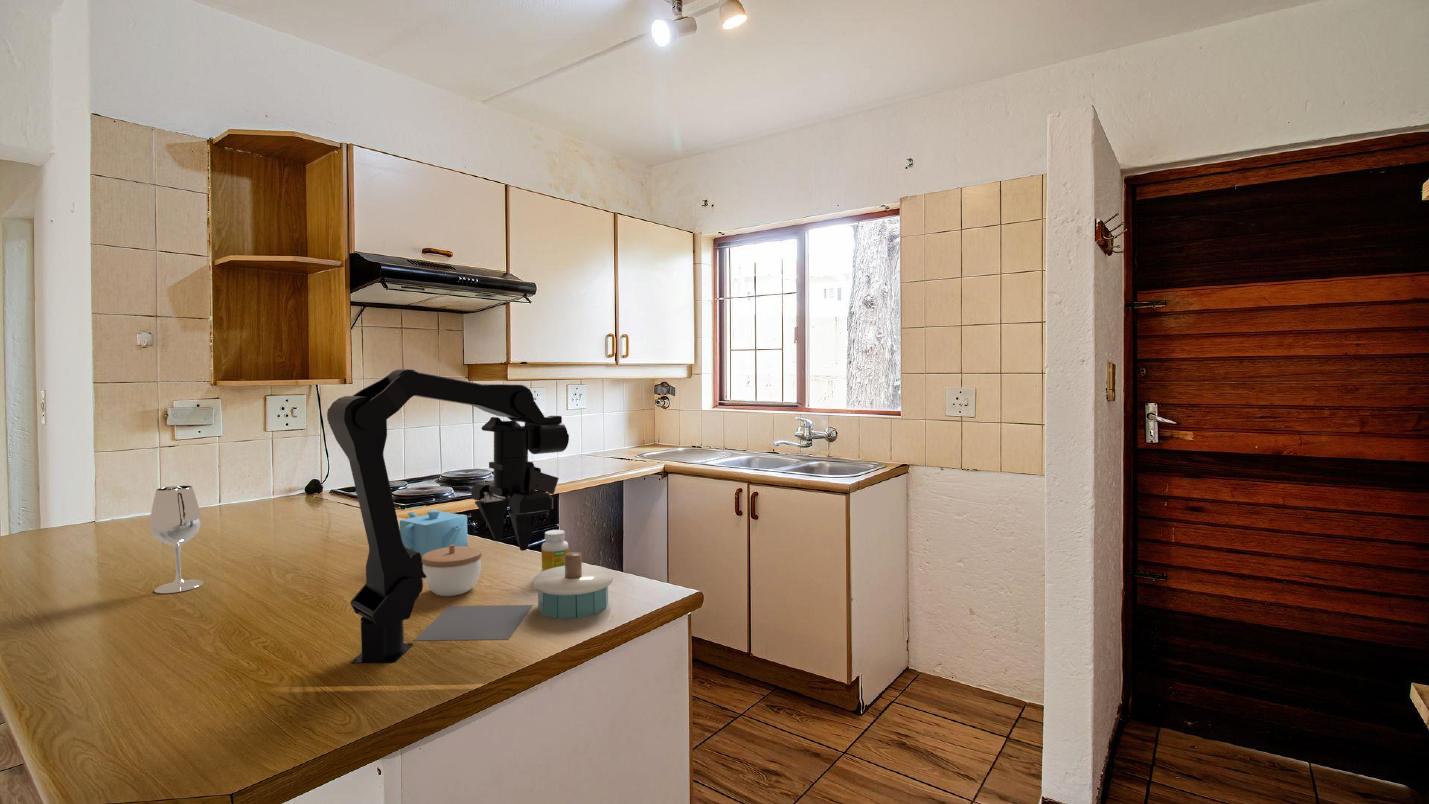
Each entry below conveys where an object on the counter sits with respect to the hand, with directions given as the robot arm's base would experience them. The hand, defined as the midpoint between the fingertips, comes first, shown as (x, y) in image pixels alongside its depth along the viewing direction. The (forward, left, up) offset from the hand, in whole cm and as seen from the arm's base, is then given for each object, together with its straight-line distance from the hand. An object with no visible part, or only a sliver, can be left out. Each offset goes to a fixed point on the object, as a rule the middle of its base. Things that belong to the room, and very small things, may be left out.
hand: (510, 545), depth 115 cm
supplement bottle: (+20, -3, -13) cm, 24 cm away
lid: (+3, -10, -8) cm, 13 cm away
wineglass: (+17, +71, -13) cm, 74 cm away
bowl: (+3, -10, -13) cm, 17 cm away
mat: (-4, +5, -12) cm, 14 cm away
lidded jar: (+12, +15, -13) cm, 23 cm away
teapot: (+35, +27, -13) cm, 46 cm away
